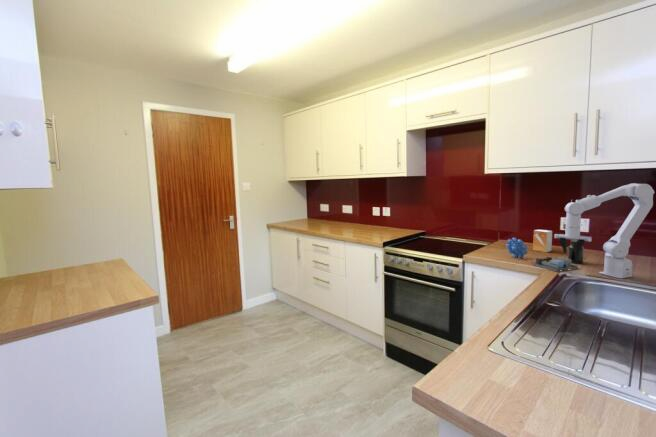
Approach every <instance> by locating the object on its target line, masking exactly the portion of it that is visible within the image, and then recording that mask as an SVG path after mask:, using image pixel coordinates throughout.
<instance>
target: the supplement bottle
mask: <svg viewBox="0 0 656 437" xmlns="http://www.w3.org/2000/svg"><path fill="white" fill-rule="evenodd" d="M577 241H578V240H571V239H570V242H569V243H570V245H567V259H571V264H574V265H577V264H578V265H581V264H583V263H584V253H585V252H584V249H585V248H584V245H583V246H582V248H581V250H580V253H579V255H576V252H577Z"/></svg>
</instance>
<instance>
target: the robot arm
mask: <svg viewBox="0 0 656 437" xmlns="http://www.w3.org/2000/svg"><path fill="white" fill-rule="evenodd" d="M654 194H655V190H654V189H653V187H652V186H651V185H650V184H648V183H636V182H634V183H629V184H625V185H621V186H619V187H617V188H615V189H612V190H609V191H606V192H604V193H602V194H600V195H595V194H592V195H591V194H588V195H586V197H583V198H581V199H576V200H575V202H572V201H571V202H568V203H567V204H566V205H565V207H564V211H565V212H566V215H565V230H564V232H565V234H563V233H559V234H558V233H555V234H554V235H553V236H554V239H558V241H559V243H560V245H561V248H562V250H563V254H565V255H566V254H568V242H569V241H568V240H570V241H571V240H578V241H577V252H576V255H579V253H580V250H581V248H582V246H583V247H584V244H585V243H586V242H590V243H591V242H592V238H593V237H592V236H585V235H581V222H582V220H581V219H582V214H583V213H584V212H585V211H586V212H587V211H590V210H591V209H594V208H597V207H599V206H601V204H602V203H604V202H607V201H609V200H612V199H613V200H614V199H615V198H618V197H628V198H629V199H631V200H632V202H633V204H634V206H633V208H632V209H631V211H630V212H629V214H628V215H627V217H626V218H625V220H624V222H623V223H622V225H620V227H619V229H618V231H617V232H616V234H615V235H614V236H611V238H610V239H608V241H606V242H604V244H603V246H602V250H603V251H604V252H605V253H604V261H603V262H604V263H603V264H604V265H603V271H599V272H598V274H602V275H606V276H609V277H613V278H618V279H625V278H632V277H633V275H632V274H633V261H632V260H631V259H628V258H627V255H628V254H629V249H630V247H631V241H630V240H632V238H633V236H634V235H635V233H636V231H637V230H638V229H639V227H640V226H641V224H642V223H643V221H644V220H645V218H646V217H647V215H648V214H649V213H650V210H651V209H653V206H654Z"/></svg>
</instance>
